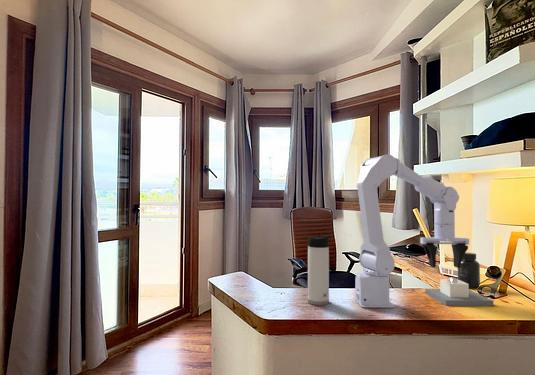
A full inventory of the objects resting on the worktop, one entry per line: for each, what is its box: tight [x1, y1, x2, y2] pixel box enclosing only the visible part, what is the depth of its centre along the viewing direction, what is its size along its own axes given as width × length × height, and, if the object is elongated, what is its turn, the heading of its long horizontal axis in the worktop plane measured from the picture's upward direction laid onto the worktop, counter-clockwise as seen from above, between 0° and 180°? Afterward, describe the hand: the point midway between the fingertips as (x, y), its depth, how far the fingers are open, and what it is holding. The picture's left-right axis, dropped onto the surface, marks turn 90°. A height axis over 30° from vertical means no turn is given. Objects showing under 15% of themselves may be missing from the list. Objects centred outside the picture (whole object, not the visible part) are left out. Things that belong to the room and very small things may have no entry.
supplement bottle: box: [457, 251, 481, 290], centre depth 114 cm, size 7×7×12 cm
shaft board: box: [424, 277, 494, 307], centre depth 99 cm, size 14×12×6 cm
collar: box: [439, 278, 470, 297], centre depth 99 cm, size 6×6×4 cm
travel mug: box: [307, 234, 331, 306], centre depth 96 cm, size 6×7×20 cm
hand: (444, 267), depth 101 cm, fingers open, 7 cm apart
